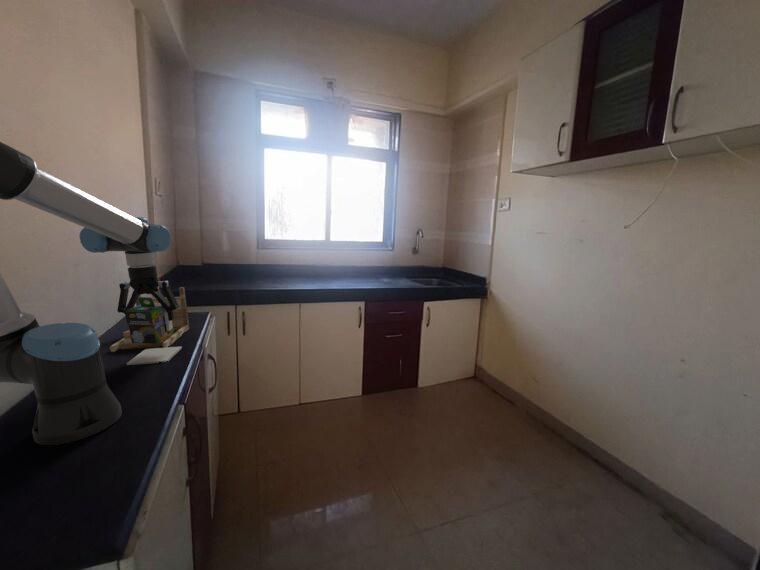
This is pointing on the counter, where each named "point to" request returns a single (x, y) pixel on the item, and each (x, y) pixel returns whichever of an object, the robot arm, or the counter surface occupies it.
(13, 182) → the robot arm
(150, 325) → the chalk box
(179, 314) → the rack
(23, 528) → the counter surface
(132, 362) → the felt mat
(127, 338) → the offcut stack
